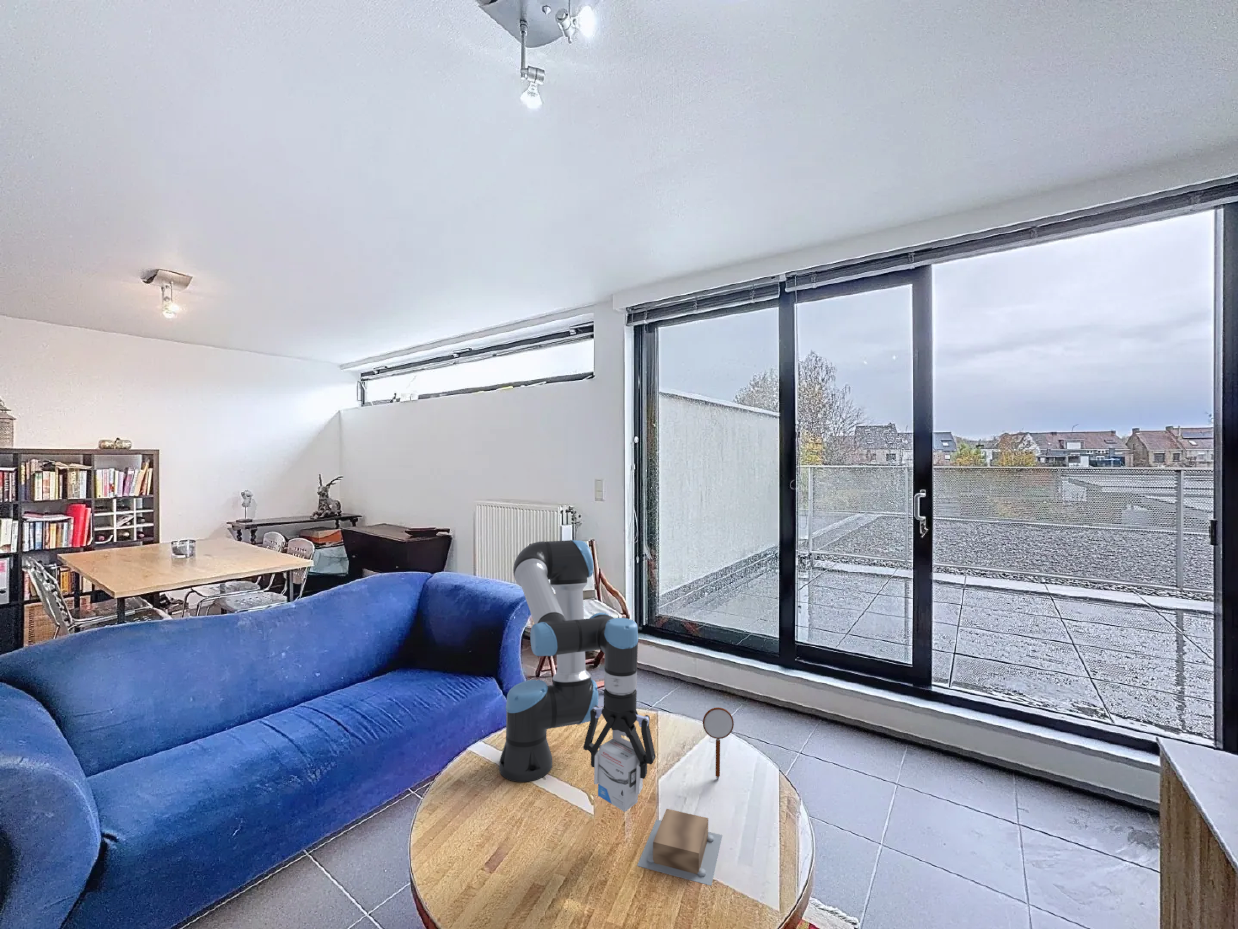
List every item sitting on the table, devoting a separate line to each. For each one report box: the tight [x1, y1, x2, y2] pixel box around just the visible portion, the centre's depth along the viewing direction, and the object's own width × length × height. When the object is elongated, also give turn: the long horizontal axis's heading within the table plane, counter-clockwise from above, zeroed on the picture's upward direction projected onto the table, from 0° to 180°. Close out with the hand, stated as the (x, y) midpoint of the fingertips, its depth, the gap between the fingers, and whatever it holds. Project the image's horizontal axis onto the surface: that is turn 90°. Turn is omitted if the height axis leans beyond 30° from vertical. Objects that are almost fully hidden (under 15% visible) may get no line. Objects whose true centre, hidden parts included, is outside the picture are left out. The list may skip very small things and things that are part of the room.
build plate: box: [636, 819, 723, 886], centre depth 119 cm, size 16×16×2 cm
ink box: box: [597, 730, 639, 813], centre depth 121 cm, size 9×5×15 cm, turn 49°
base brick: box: [653, 808, 709, 874], centre depth 119 cm, size 10×12×4 cm
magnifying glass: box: [702, 707, 735, 780], centre depth 148 cm, size 9×2×20 cm, turn 87°
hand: (618, 785), depth 121 cm, fingers closed on ink box, 9 cm apart
